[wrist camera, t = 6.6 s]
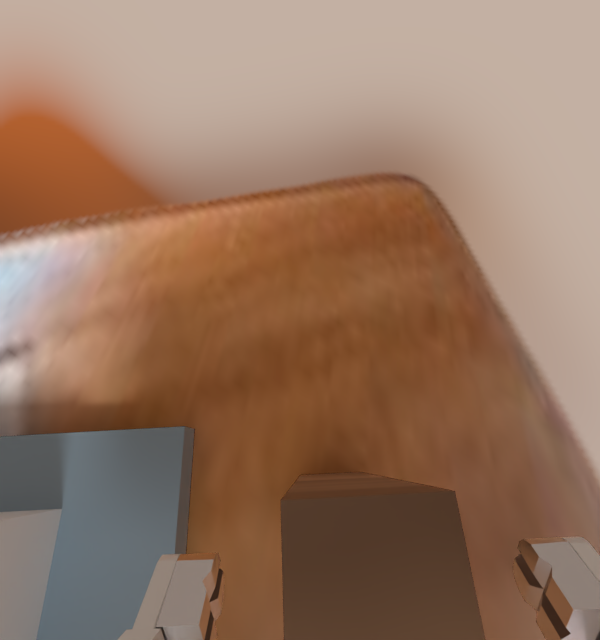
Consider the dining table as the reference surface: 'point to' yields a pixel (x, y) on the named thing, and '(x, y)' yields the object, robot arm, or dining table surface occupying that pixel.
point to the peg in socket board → (88, 527)
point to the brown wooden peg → (375, 561)
